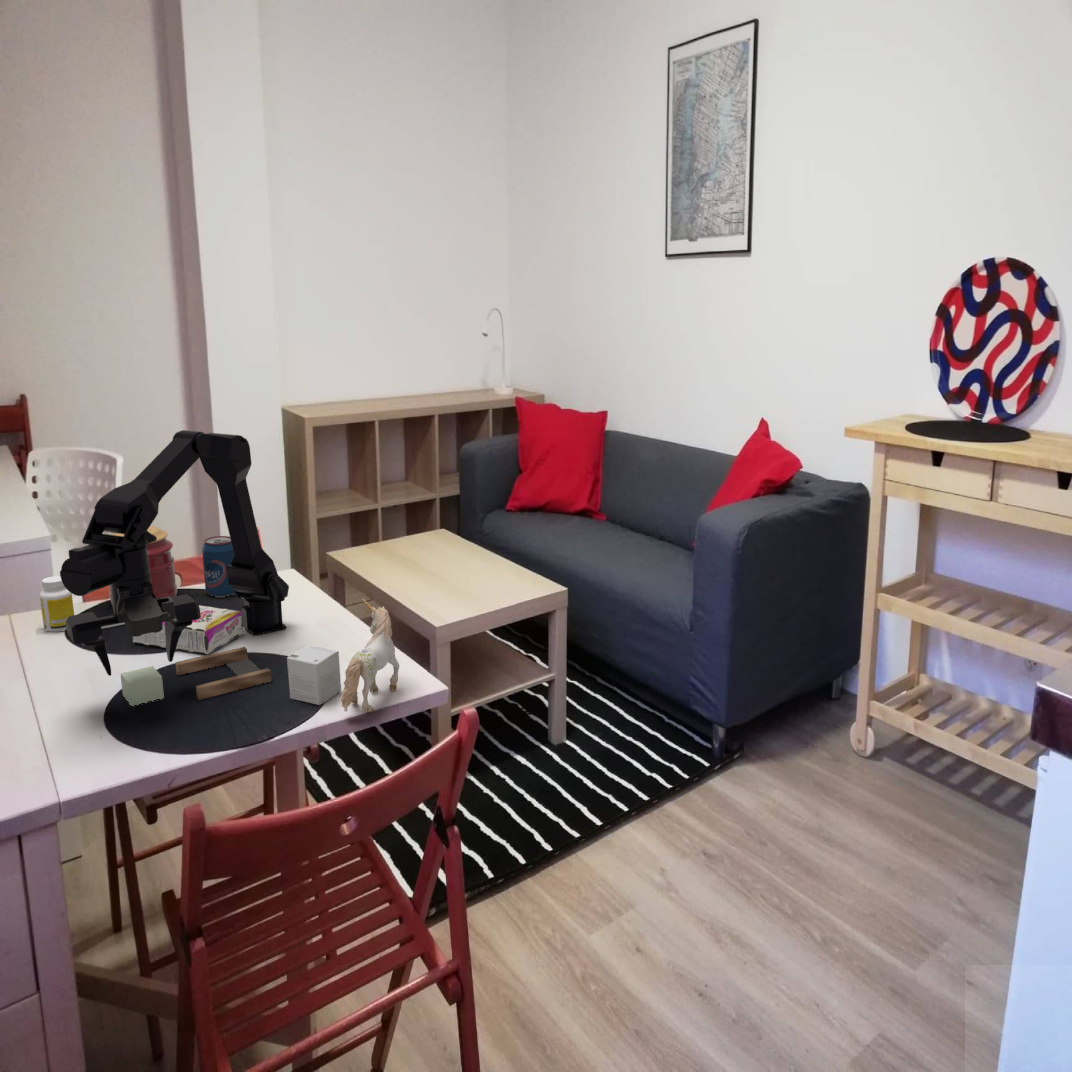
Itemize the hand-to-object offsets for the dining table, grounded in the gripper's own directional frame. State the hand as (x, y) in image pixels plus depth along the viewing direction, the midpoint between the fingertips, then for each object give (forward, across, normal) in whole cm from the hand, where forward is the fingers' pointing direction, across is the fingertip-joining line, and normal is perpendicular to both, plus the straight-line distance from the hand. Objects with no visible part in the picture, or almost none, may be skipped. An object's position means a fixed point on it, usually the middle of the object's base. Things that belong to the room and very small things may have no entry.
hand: (140, 667), depth 142 cm
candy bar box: (+3, +8, +27) cm, 28 cm away
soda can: (+5, +27, +42) cm, 50 cm away
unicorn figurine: (+5, +29, -19) cm, 35 cm away
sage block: (+5, 0, 0) cm, 5 cm away
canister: (+5, +12, +46) cm, 48 cm away
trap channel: (+5, +13, 0) cm, 14 cm away
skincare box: (+5, +23, -15) cm, 28 cm away
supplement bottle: (+5, -5, +40) cm, 41 cm away
